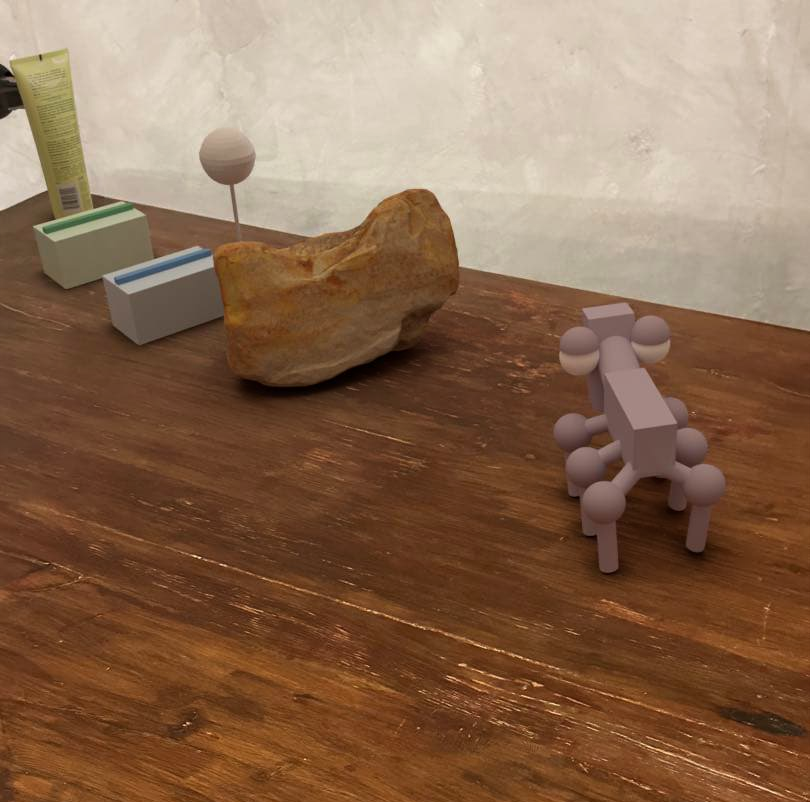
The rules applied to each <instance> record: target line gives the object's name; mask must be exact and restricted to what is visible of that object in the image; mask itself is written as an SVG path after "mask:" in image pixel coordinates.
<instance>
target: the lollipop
mask: <svg viewBox="0 0 810 802" xmlns="http://www.w3.org/2000/svg"><path fill="white" fill-rule="evenodd" d="M201 143H202V144H201V146H200V149H199V152H198V158H199V163H200V165H201V167H202V169H203V171H204V172H205V174H206V175H207V177H209V178H210V179H211V180H212V181H214V182H215V183H217V184H219V185H224V186H229V190H230V198H231V199H230V200H231V204H232V210H233V211H232V212H233V219H234V226H235V233H236V242H237V241H242V234H241V227H240V219H239V213H238V204H237V199H236V190H235V185H238V184H241V183H242V182H244V181H245V180H246V179H247V178H249V176H250V175H251V173H252V172H253V170H254V167H255V164H256V163H255V162H256V159H257V158H256V157H257V153H256V149H255V146H254V145H253V143H252V141H251V140H250V139H249V137H248V136H247V135H245V133H244V132H242V131H240V130H239V129H236V128H233V127H218V128H215V129H214V130H212V131H211V132H209V133H208V134H207V135H206V136H205V138H204V139H203V141H202V142H201Z"/></svg>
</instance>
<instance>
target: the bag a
mask: <svg viewBox="0 0 810 802" xmlns="http://www.w3.org/2000/svg"><path fill="white" fill-rule="evenodd" d="M101 279H102V282H103V286H104V291H105V296H106V300H107V305H108V309H109V313H110V318H111V323H112V327H114V328H115V329H116V330H118V331H119V332H121V333H122V334H123V335H124V336H126V337H127V338H128V339H130V340H131V341H132V342H134V343H135V345H137V346H142V345H144V344H148V343H150V342H154V341H156V340H159V339H162V338H165V337H168V336H172V335H173V334H176V333H179V332H182V331H185V330H188V329H190V328H194V327H197V326H199V325H202V324H205V323H208V322H211V321H214V320H216V319H220V318H222V317H224V310H223V303H222V297H221V291H220V286H219V281H218V278H217V276H216V273H215V269H214V264H213V254H212V250H211V249H210V248H208V247H206V248H202V247H200V246H199V245H196V246H192V247H189V248H186V249H183V250H180V251H176V252H173V253H169V254H165V255H164V256H160V257H157V258H154V260H150V261H147V262H144V263H141V264H138V265H134V266H131V267H128V268H125V269H122V270H118V271H115V272H112V273H109V274H106V275H103V276H102V278H101Z"/></svg>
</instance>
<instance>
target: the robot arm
mask: <svg viewBox="0 0 810 802" xmlns="http://www.w3.org/2000/svg"><path fill="white" fill-rule="evenodd" d="M17 110H25V108H24V104H23V101H22V98H21V95H20V92H19V89H18V86H17V83H16V80H15V77H14V74H13V72H12V71H10V69H9V68H8V67H6V66H5V65H3V64H2V63H0V120H3V119H5V118H6V117H8V116H9V115H11V114H12V113H13V112H14V111H17Z"/></svg>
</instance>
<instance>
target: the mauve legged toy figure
mask: <svg viewBox="0 0 810 802" xmlns="http://www.w3.org/2000/svg"><path fill="white" fill-rule="evenodd" d="M581 315H582V316H581V317H582V318H581V319H582V326H574V327H572V328H569V329H568V330H566V331H565V332H564V334H563V335H562V336H561V338H560V340H559V347H558V349H559V355H558V359H559V363H560V366H561V367H562V369H563V370H564V371H565V372H566V373H568V374H570V375H572V376H574V377H575V376H576V377H583V376H586V380H587V394H588V401H589V403H590V405H591V406H592V408H593V410H594V412H595V413H597V414H598V413H601V412H602V414H600V415H596V416H593V417H590V418H587V417H586V416H584V415H583V414H580V413H575V412H572V413H571V412H570V413H566V414H564V415H563V416H561V417H560V418H558V420H557V421H556V422H555V424H554V427H553V431H552V436H553V440H554V442H555V444H556V446H557V447H558V448H559V449H561V450H562V451H564V461H565V469H564V470H565V475H566V484H567V494H568V495H569V496H570V497H579V503H580V516H581V517H580V518H581V527H582V534H583V535H584V536H589V537H591V536H596V540H597V552H598V565H599V567H598V568H599V571H601V572H602V573H607V574H608V573H610V574H611V573H613V572H617V570H618V569H619V553H618V538H617V521H618V520H619V519H620V518H621V517H622V515H623V514H624V512H625V509H626V505H627V501H626V500H627V499H626V495H627V494H628V493H629V492H630V491H631V489H633V487H634V486H635V485H636V484H637V482H638V481H639V480H640V479H643V478H649V477H655V478H659V479H667V480H668V481H671V483H670V490H669V495H668V501H667V502H668V503H667V504H668V507H669V508H671V509H672V510H674V511H677V512H680V511H684V510H686V508H687V503H688V502H689V503H690V504H691V511H690V515H689V521H688V527H687V534H686V539H685V546H686V548H687V549H688V550H689V551H691V552H694V553H701V552H703V551H704V550H705V548H706V541H707V537H708V531H709V526H710V525H709V524H710V519H711V514H712V508H713V505H715V504H717V503H718V502H719V501H720V500H722V498H723V497H724V495H725V492H726V488H727V482H726V478H725V476H724V474H723V472H722V471H721V469H719V468H718V467H716V466H714V465H712V464H709V463H703V462H704V461H705V460H706V458H707V455H708V452H709V443H708V441H707V438H706V437H705V436H704V434H703V433H702V432H701V431H699V430H698V429H695V428H693V427H687V426H688V423H689V419H690V413H689V409H688V408H687V406H686V404H685V403H684V402H683V401H682V400H681V399H678V398H676V397H673V396H672V397H671V396H669V397H663V396H662V394H661V393H660V391H659V389H658V387H657V386H656V385H655V383H654V380H652V377H651V376H650V374H649V373H648V371H647V369H646V367H641V366H640V363H641V364H644V365H655V364H657V363H660V362H661V361H662V360H663V359H665V358H666V357H667V355H668V354H669V351H670V348H671V337H672V335H671V328H670V326H669V325H668V323H667V321H666V320H664V319H663V318H662V317H660V316H657V315H645V316H642V317H640V318H638V319H636V315H635V311H634V310H633V309H632V308H631V307H630V305H629V304H628V302H626V301H625V302H618V303H617V302H616V303H610V304H604V305H597V306H589V307H583V308H581ZM607 432H609V434H610V437H611V438H612V441H613V442H611V443H609V444H607V445H605V446H603V447H601V448H599V449H596V448H594V447H591V446H589V445H590V444H591V442H592V440H593V437H595V436H598V435H603V434H604V433H607ZM620 460H622V461H623V463H624V466H623V468H622V469H620V471H619V472H618V473H617V474H616V476H615V477H614V478H613V479H612V480H611V481H608V480H607V481H606V480H604V479H605V477H606V476H607V472H608V467H609V466H611V465H613V464H614V463H615V464H616V463H617V462H618V461H620Z"/></svg>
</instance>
